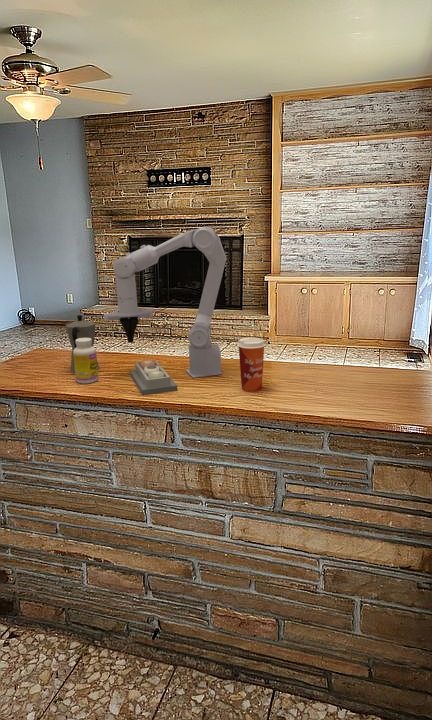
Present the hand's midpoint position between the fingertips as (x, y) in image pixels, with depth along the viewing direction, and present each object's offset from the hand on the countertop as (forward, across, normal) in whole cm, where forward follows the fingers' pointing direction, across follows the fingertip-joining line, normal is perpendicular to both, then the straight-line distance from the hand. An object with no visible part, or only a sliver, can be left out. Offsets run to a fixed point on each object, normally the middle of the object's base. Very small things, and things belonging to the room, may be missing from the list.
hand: (130, 341), depth 158 cm
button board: (+10, -4, +10) cm, 15 cm away
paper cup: (+11, -29, +27) cm, 41 cm away
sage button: (+9, -4, +17) cm, 19 cm away
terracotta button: (+9, -4, +4) cm, 11 cm away
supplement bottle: (+11, +14, +1) cm, 18 cm away
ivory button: (+9, -4, +10) cm, 14 cm away
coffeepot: (+11, +14, -10) cm, 20 cm away
